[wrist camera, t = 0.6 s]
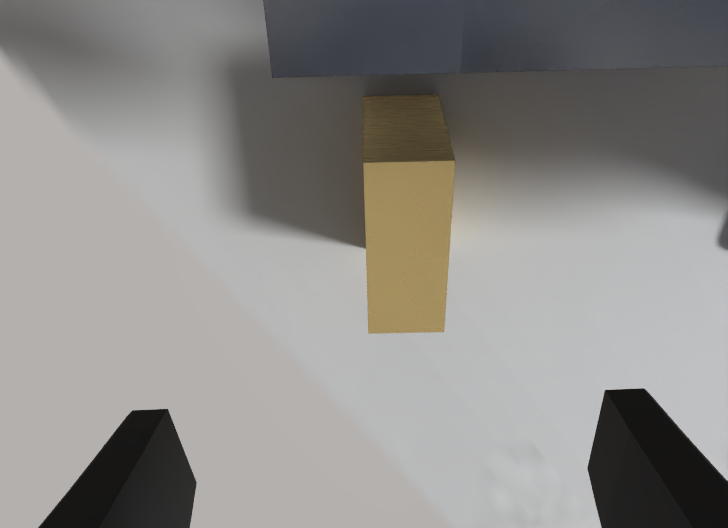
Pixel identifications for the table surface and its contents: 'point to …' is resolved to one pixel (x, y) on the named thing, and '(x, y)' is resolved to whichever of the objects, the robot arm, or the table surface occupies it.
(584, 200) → the table surface
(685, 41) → the box
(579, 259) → the table surface
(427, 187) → the block
